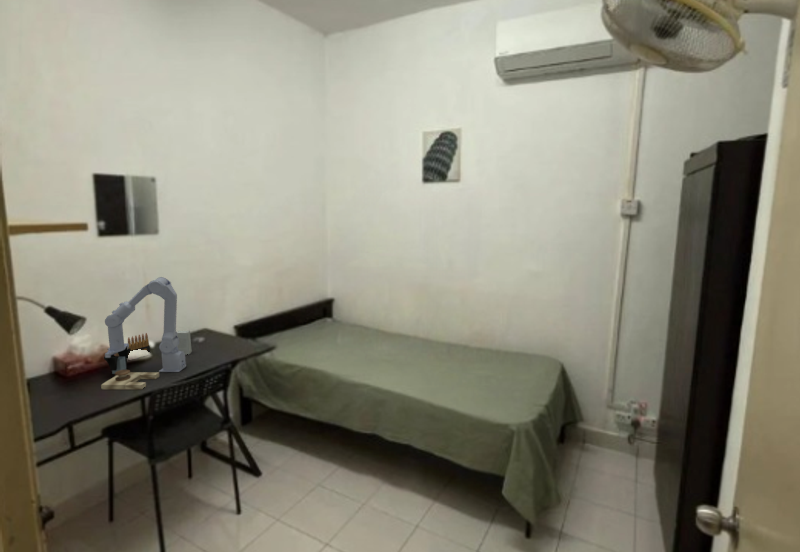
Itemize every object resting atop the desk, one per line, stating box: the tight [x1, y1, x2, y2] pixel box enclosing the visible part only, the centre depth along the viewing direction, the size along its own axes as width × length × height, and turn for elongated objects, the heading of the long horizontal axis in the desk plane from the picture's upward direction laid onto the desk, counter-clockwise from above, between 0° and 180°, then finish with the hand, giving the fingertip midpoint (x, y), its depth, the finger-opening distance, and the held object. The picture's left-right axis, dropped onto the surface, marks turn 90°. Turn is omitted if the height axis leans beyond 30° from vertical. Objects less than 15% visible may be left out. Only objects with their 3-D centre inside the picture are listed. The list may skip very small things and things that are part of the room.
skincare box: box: [176, 330, 192, 356], centre depth 226 cm, size 6×4×12 cm
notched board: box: [100, 369, 160, 390], centre depth 189 cm, size 17×14×5 cm
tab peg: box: [111, 357, 127, 375], centre depth 201 cm, size 4×4×7 cm
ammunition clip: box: [127, 332, 151, 353], centre depth 220 cm, size 11×2×12 cm, turn 151°
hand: (118, 367), depth 201 cm, fingers open, 7 cm apart
